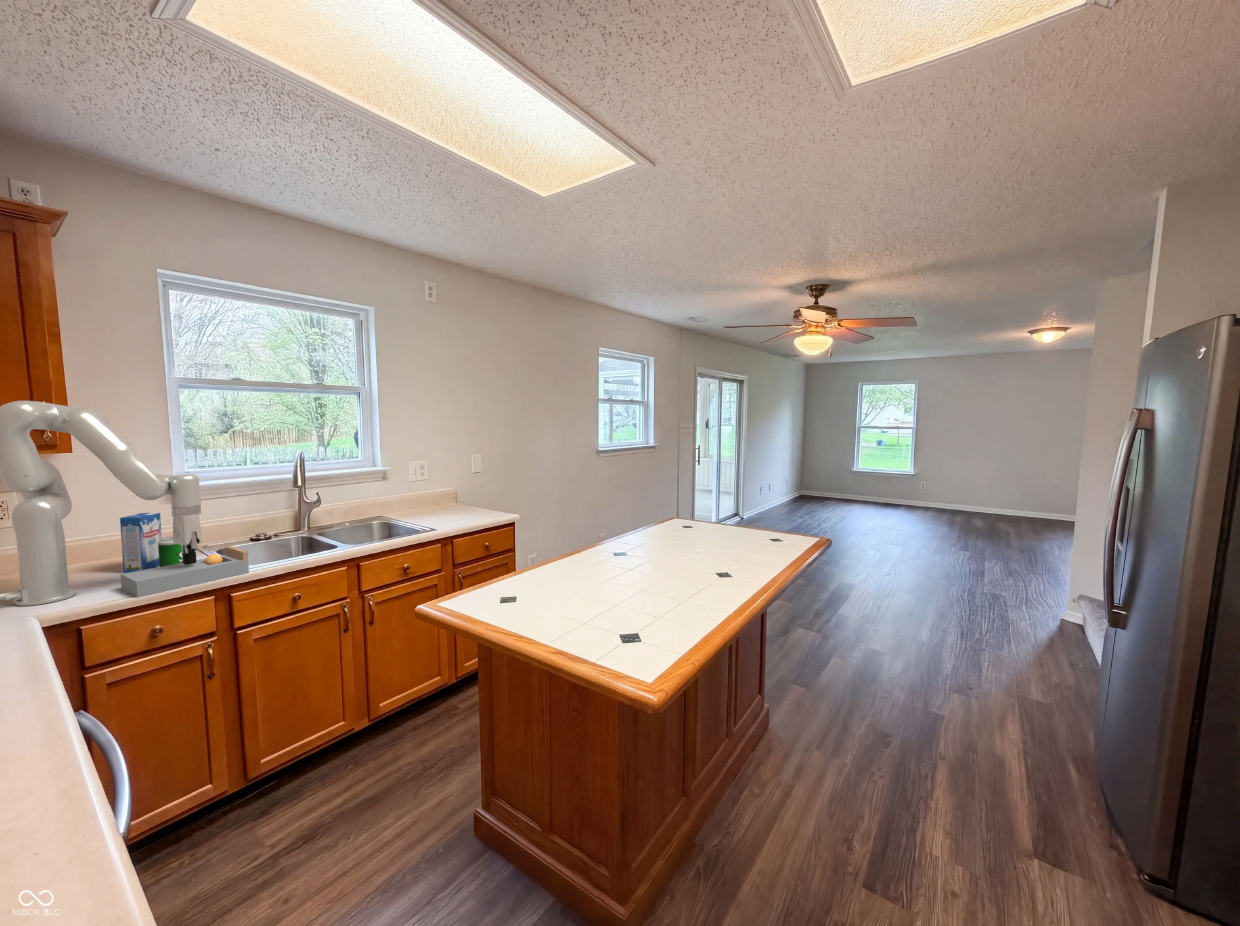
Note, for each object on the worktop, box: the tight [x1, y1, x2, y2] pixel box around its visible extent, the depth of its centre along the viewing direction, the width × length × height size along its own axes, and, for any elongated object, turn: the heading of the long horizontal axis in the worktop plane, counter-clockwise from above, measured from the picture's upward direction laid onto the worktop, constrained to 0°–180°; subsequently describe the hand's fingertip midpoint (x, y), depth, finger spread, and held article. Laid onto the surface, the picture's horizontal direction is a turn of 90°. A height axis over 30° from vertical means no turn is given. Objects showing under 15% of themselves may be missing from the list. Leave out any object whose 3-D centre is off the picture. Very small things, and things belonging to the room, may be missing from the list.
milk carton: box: [119, 512, 163, 574], centre depth 182 cm, size 10×6×20 cm, turn 10°
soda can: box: [158, 536, 183, 567], centre depth 182 cm, size 8×8×12 cm
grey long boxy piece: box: [120, 545, 250, 598], centre depth 170 cm, size 30×14×8 cm, turn 149°
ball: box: [204, 553, 223, 565], centre depth 176 cm, size 5×5×5 cm
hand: (189, 563), depth 171 cm, fingers closed
